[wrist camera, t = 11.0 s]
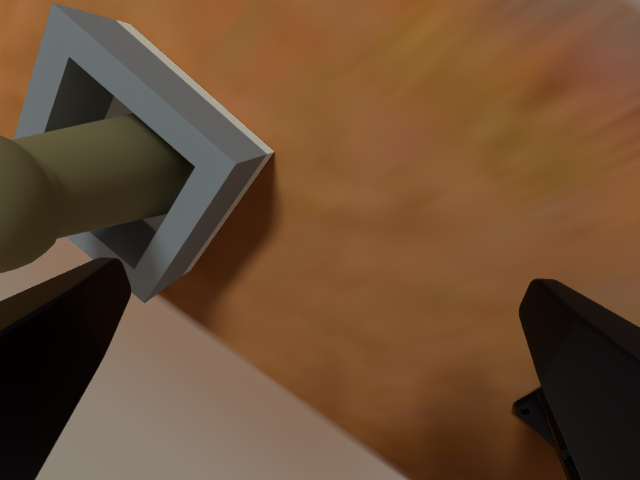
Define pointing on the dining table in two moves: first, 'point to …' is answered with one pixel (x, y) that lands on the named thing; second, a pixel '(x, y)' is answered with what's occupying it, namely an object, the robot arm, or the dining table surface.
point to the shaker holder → (160, 115)
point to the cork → (83, 183)
